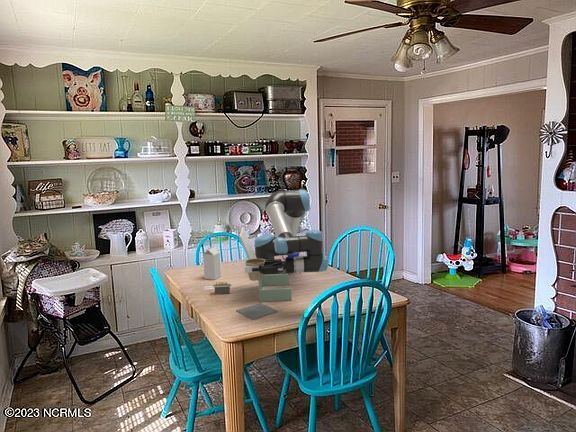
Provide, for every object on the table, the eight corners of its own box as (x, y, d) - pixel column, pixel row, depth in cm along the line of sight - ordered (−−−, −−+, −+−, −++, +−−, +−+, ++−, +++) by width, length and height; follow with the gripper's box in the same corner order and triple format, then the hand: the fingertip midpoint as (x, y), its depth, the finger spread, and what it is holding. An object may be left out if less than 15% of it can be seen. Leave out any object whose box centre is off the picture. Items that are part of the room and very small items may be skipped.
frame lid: (243, 226, 241) (242, 227, 241) (240, 236, 215) (239, 236, 215) (258, 262, 245) (257, 263, 245) (257, 276, 219) (256, 277, 219)
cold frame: (288, 283, 248) (288, 263, 246) (291, 300, 222) (291, 277, 220) (259, 285, 247) (259, 264, 245) (259, 301, 221) (258, 278, 219)
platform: (207, 291, 241) (206, 279, 240) (240, 289, 242) (239, 278, 241) (204, 298, 229) (203, 286, 228) (239, 296, 230) (238, 284, 229)
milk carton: (220, 276, 266) (219, 245, 263) (215, 280, 259) (213, 248, 256) (210, 275, 268) (208, 245, 265) (204, 279, 261) (202, 247, 258)
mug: (281, 260, 298) (280, 246, 296) (298, 259, 299) (298, 245, 297) (282, 264, 290) (281, 249, 288) (300, 263, 291) (299, 248, 289)
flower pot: (263, 282, 200) (262, 264, 198) (243, 281, 202) (242, 263, 200) (268, 276, 209) (267, 258, 207) (249, 275, 211) (248, 258, 209)
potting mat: (236, 311, 209) (236, 310, 209) (260, 304, 217) (260, 302, 217) (253, 319, 198) (253, 318, 198) (277, 311, 207) (277, 310, 207)
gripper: (295, 279, 195) (244, 281, 194) (292, 266, 216) (246, 268, 215) (295, 262, 194) (243, 265, 193) (292, 251, 215) (245, 253, 214)
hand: (245, 266), depth 204 cm, fingers closed on flower pot, 8 cm apart
